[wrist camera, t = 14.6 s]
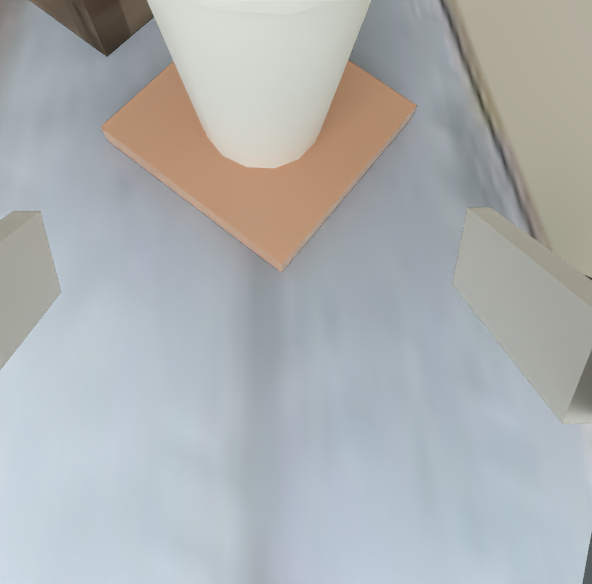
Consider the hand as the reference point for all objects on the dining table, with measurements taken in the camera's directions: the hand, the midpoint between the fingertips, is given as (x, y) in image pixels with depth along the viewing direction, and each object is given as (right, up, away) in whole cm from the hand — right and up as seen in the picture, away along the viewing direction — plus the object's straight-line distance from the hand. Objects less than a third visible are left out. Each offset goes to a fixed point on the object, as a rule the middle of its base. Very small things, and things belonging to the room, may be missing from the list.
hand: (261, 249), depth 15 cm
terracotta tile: (-1, +8, +11) cm, 14 cm away
